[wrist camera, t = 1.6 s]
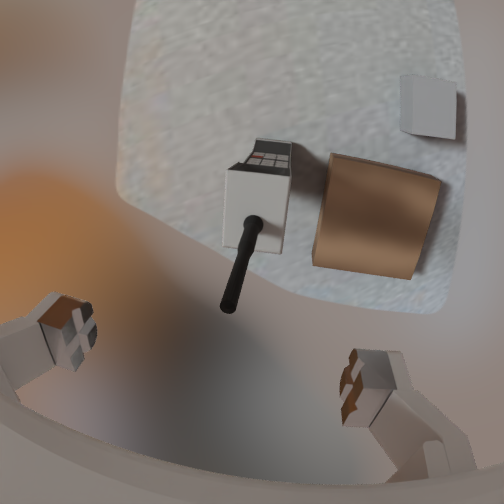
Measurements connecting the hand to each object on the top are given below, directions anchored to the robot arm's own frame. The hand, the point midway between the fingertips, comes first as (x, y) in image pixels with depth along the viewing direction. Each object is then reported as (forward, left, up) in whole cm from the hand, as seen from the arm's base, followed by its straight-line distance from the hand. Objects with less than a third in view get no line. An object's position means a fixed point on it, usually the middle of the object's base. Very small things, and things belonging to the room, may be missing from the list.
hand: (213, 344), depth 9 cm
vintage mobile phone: (0, 0, -28) cm, 28 cm away
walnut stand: (+4, +12, -27) cm, 30 cm away
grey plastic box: (-10, +15, -28) cm, 33 cm away
